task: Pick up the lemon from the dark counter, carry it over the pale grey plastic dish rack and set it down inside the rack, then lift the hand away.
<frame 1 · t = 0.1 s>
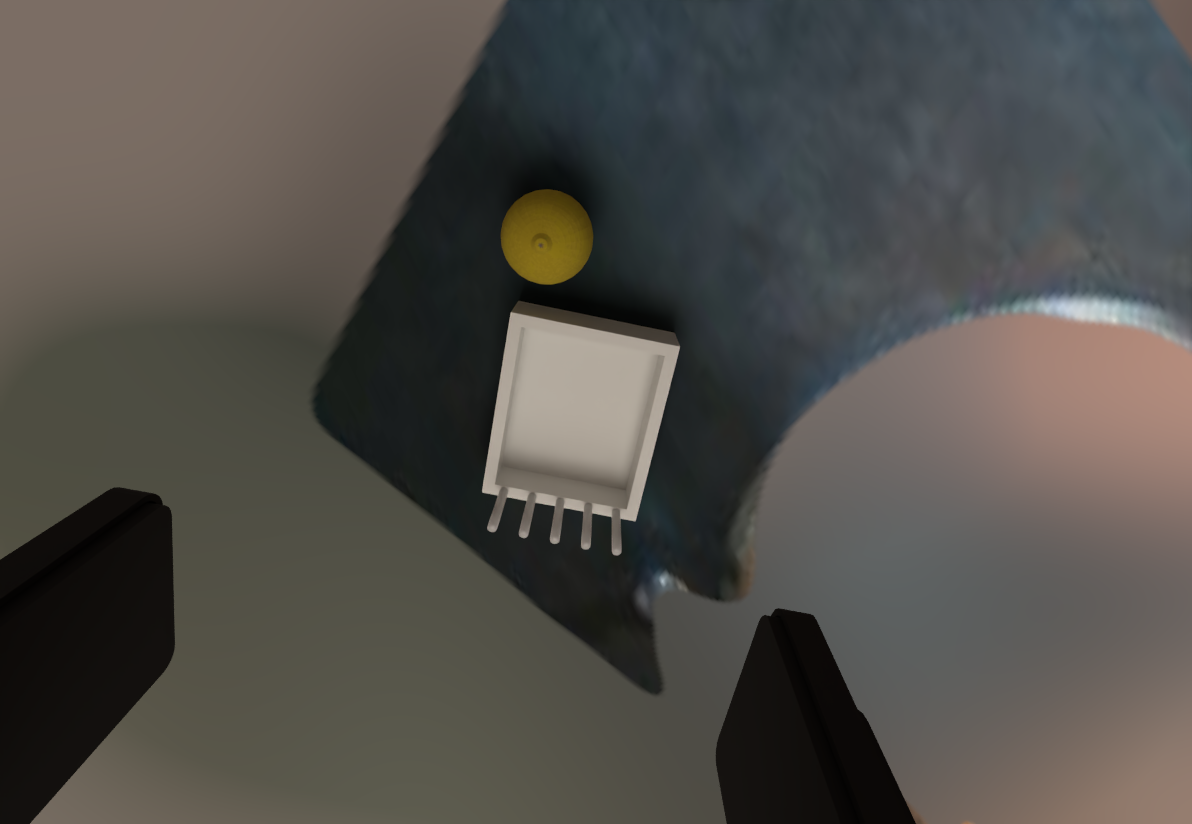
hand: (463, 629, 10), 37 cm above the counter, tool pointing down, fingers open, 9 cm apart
rack: (579, 403, 48), on the counter
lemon: (553, 231, 44), on the counter
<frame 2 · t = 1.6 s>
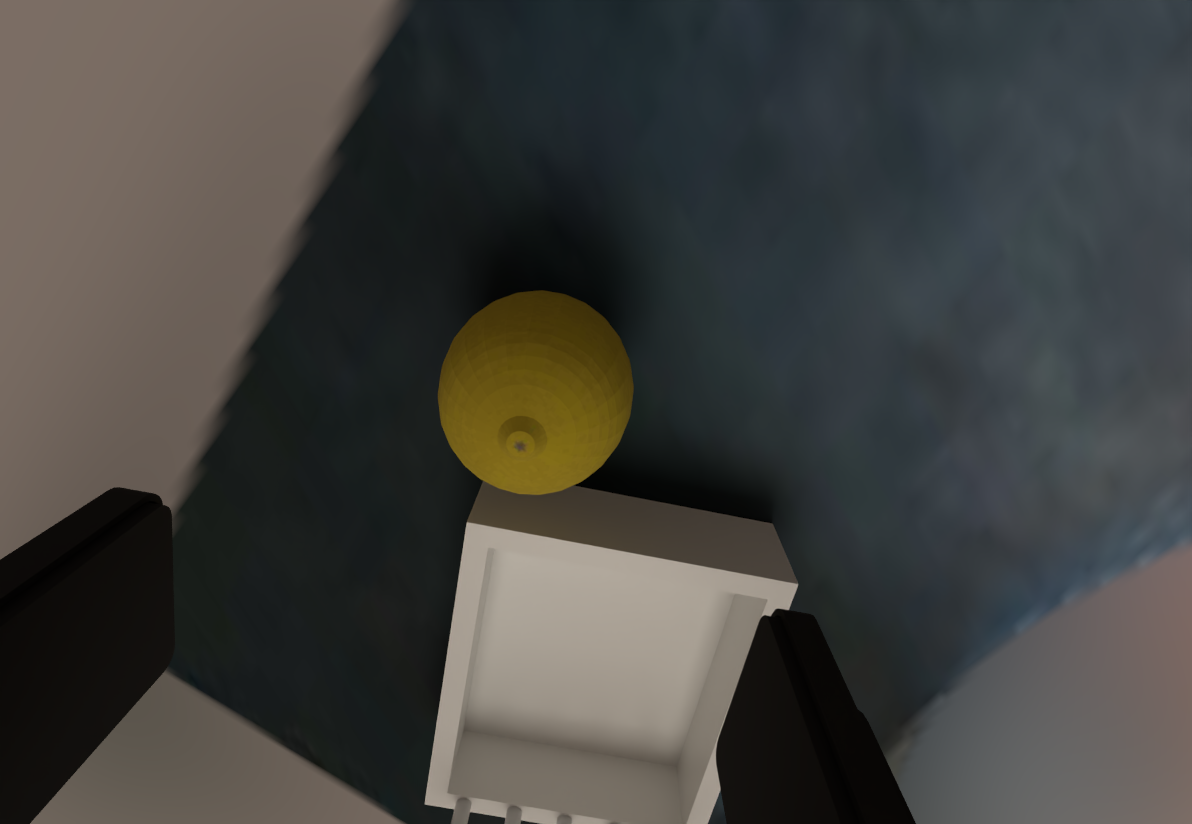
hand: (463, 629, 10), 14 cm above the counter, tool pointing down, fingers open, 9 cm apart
rack: (597, 632, 27), on the counter
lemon: (551, 348, 23), on the counter
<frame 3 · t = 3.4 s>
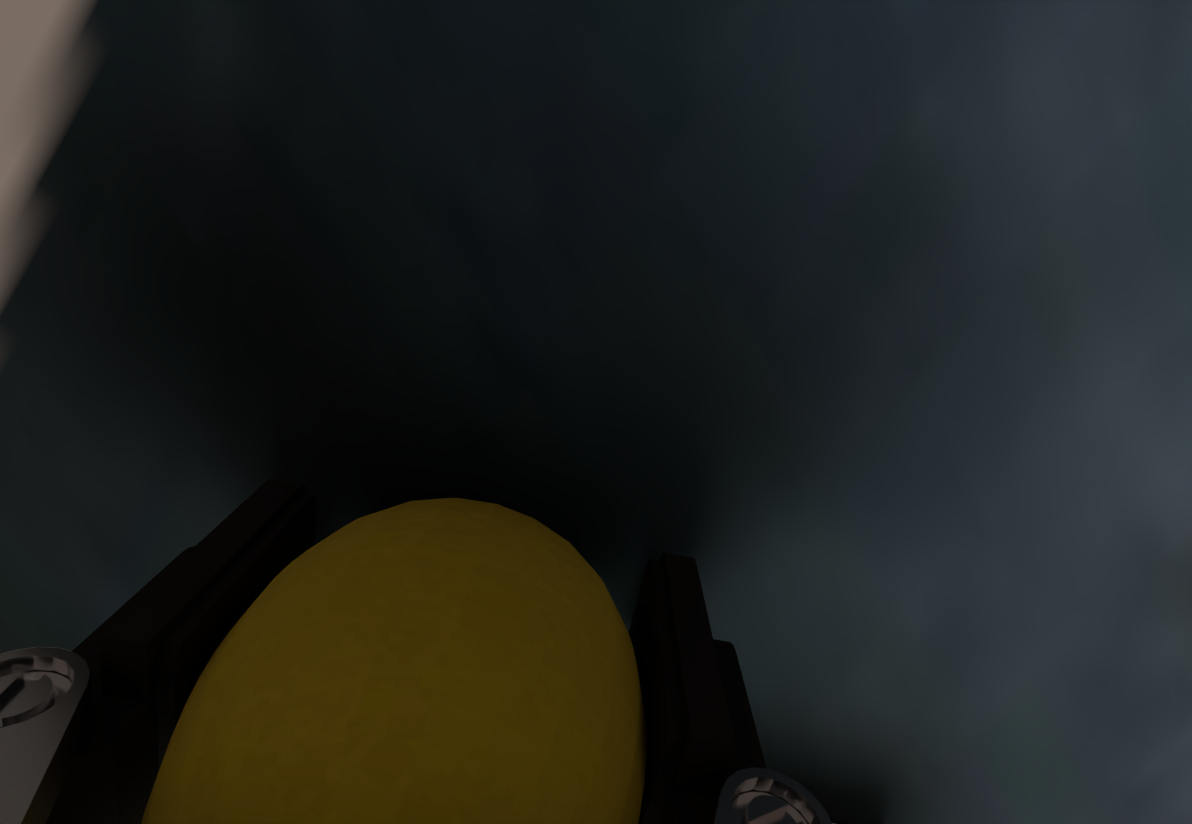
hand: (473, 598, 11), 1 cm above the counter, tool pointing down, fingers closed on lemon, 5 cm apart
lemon: (486, 553, 12), on the counter, touching gripper
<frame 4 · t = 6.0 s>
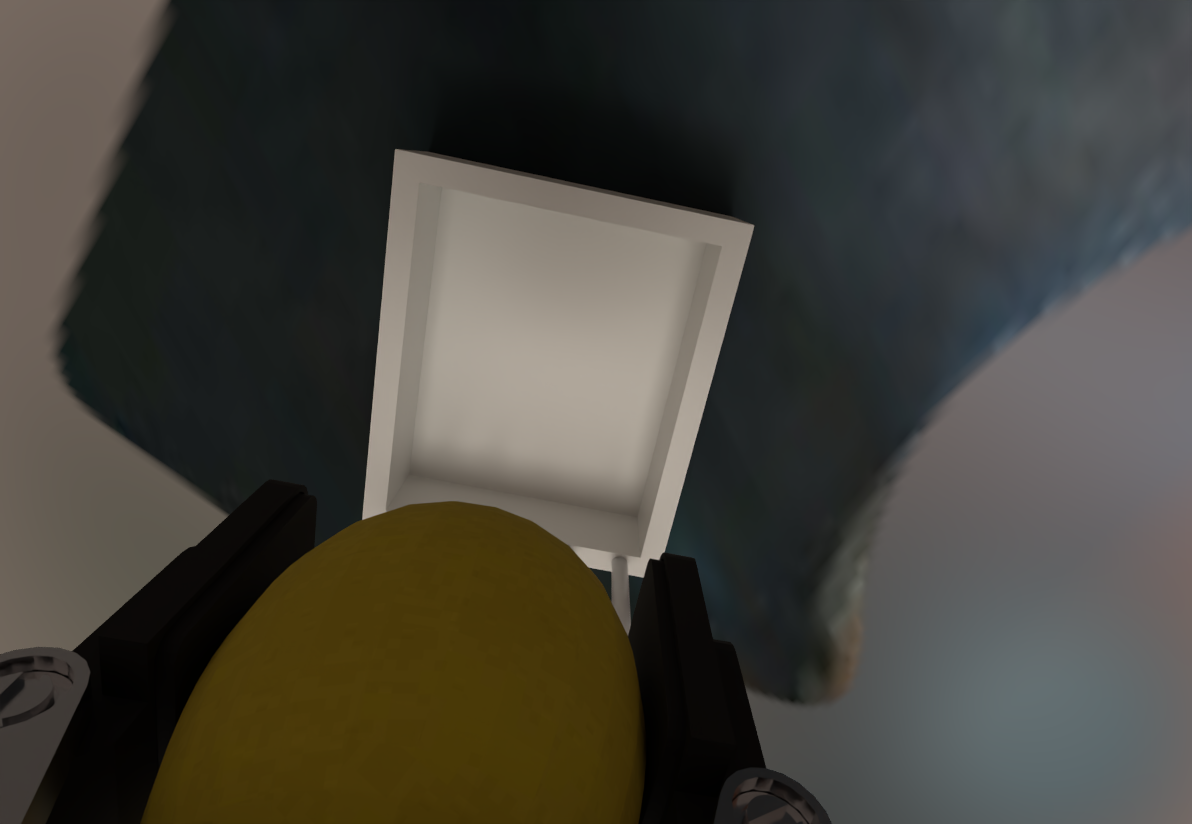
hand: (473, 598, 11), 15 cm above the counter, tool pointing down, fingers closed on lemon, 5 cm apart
rack: (550, 358, 26), on the counter
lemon: (486, 556, 12), point 14 cm above the counter, touching gripper
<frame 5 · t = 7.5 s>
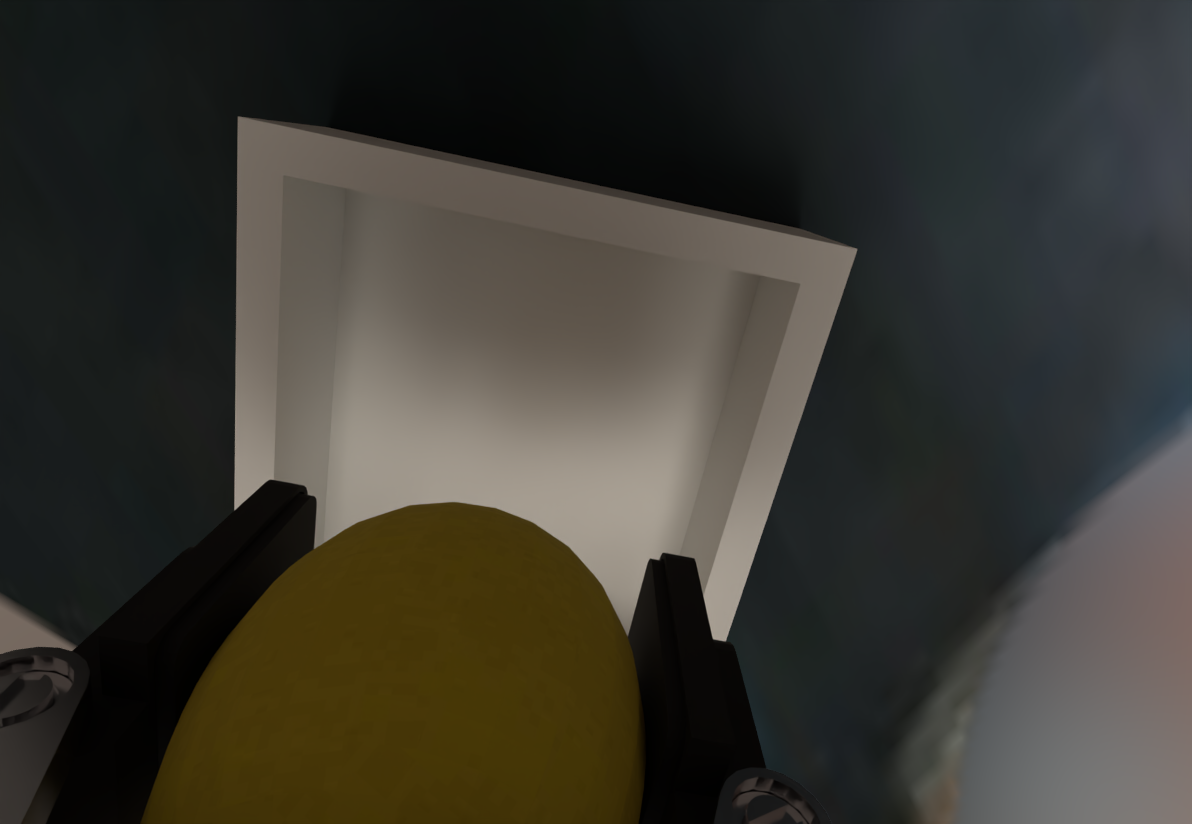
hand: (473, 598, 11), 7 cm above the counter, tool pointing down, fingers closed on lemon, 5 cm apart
rack: (522, 435, 17), on the counter
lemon: (486, 557, 12), point 5 cm above the counter, touching gripper
when the fingers open (4 cm above the counter, at t = 8.8 s): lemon drops 2 cm, resting on rack.
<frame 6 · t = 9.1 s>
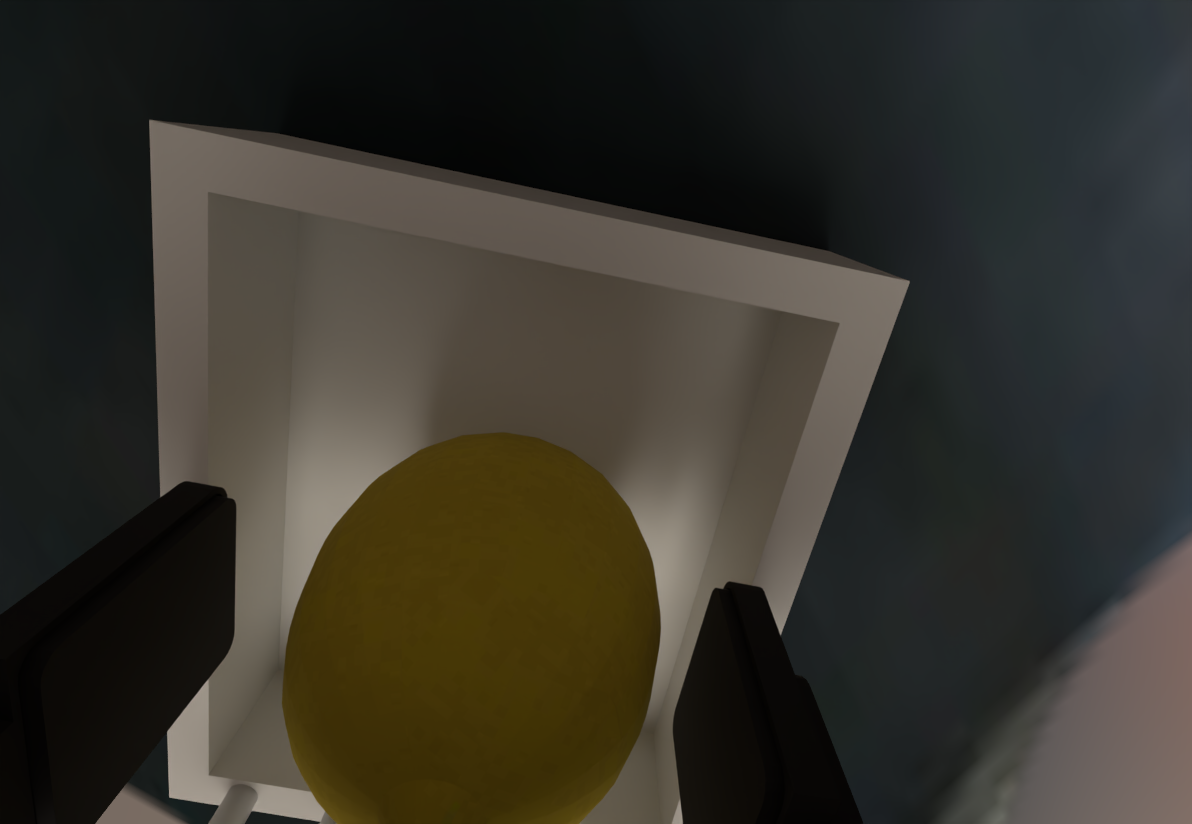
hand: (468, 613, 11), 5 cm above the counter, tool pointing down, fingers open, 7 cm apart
rack: (508, 485, 15), on the counter
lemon: (520, 493, 15), point 1 cm above the counter, touching rack
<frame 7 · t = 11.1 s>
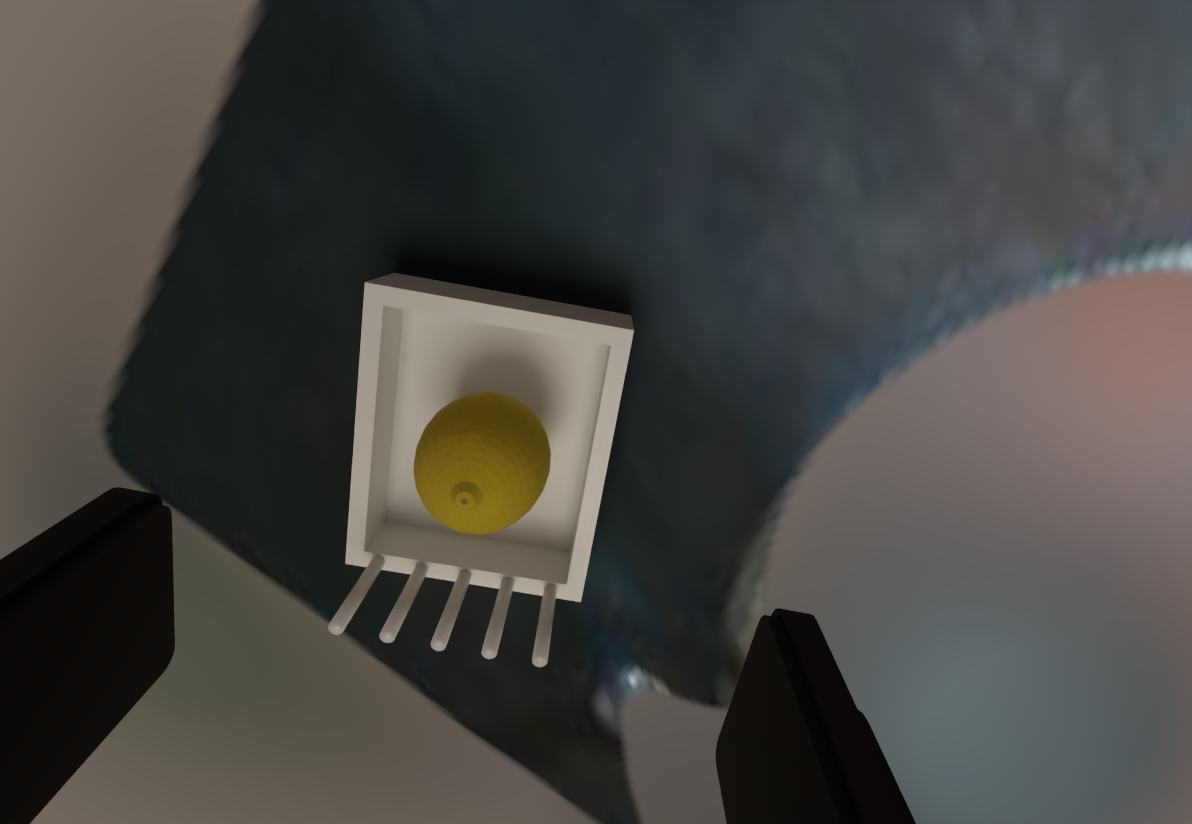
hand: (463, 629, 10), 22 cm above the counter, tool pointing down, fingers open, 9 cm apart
rack: (495, 425, 32), on the counter
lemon: (500, 428, 32), point 1 cm above the counter, touching rack
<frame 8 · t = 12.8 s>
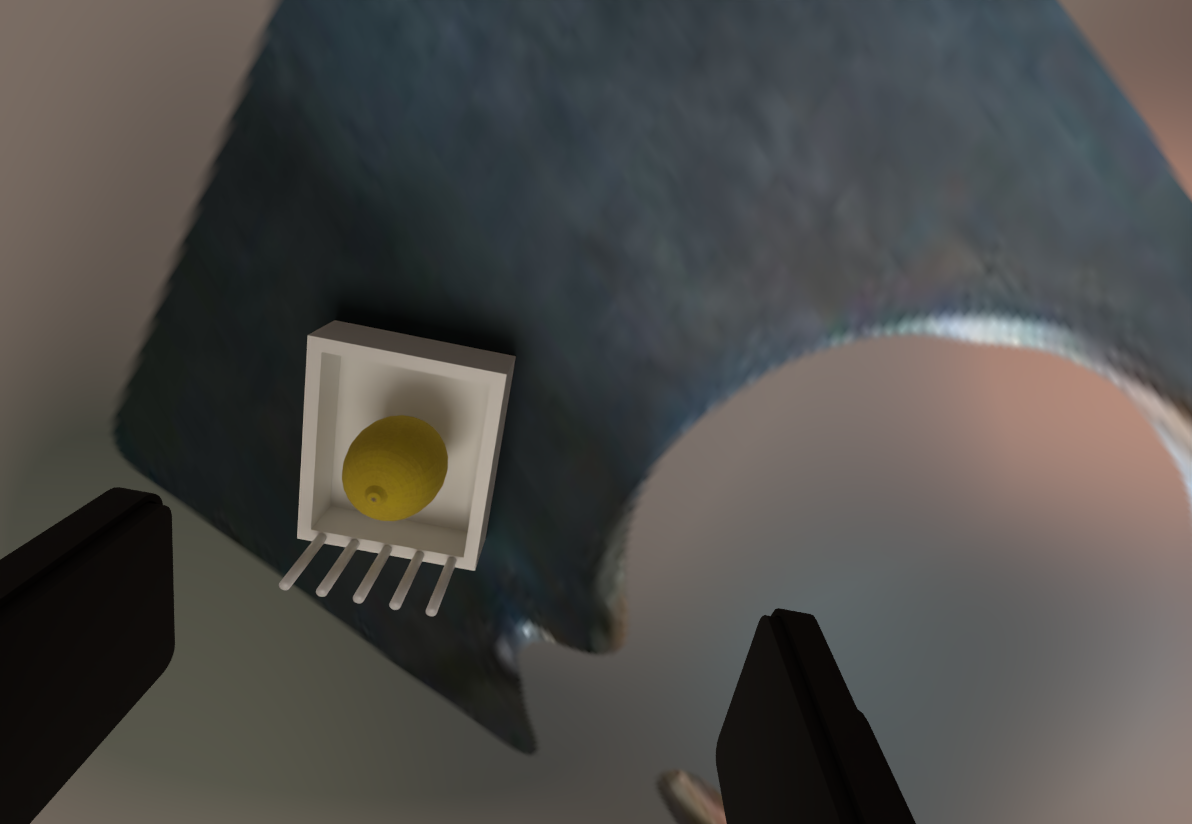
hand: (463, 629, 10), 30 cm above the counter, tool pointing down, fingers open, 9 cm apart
rack: (414, 435, 42), on the counter
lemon: (417, 438, 42), point 1 cm above the counter, touching rack
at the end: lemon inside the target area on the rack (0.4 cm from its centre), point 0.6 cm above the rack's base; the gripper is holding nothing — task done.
